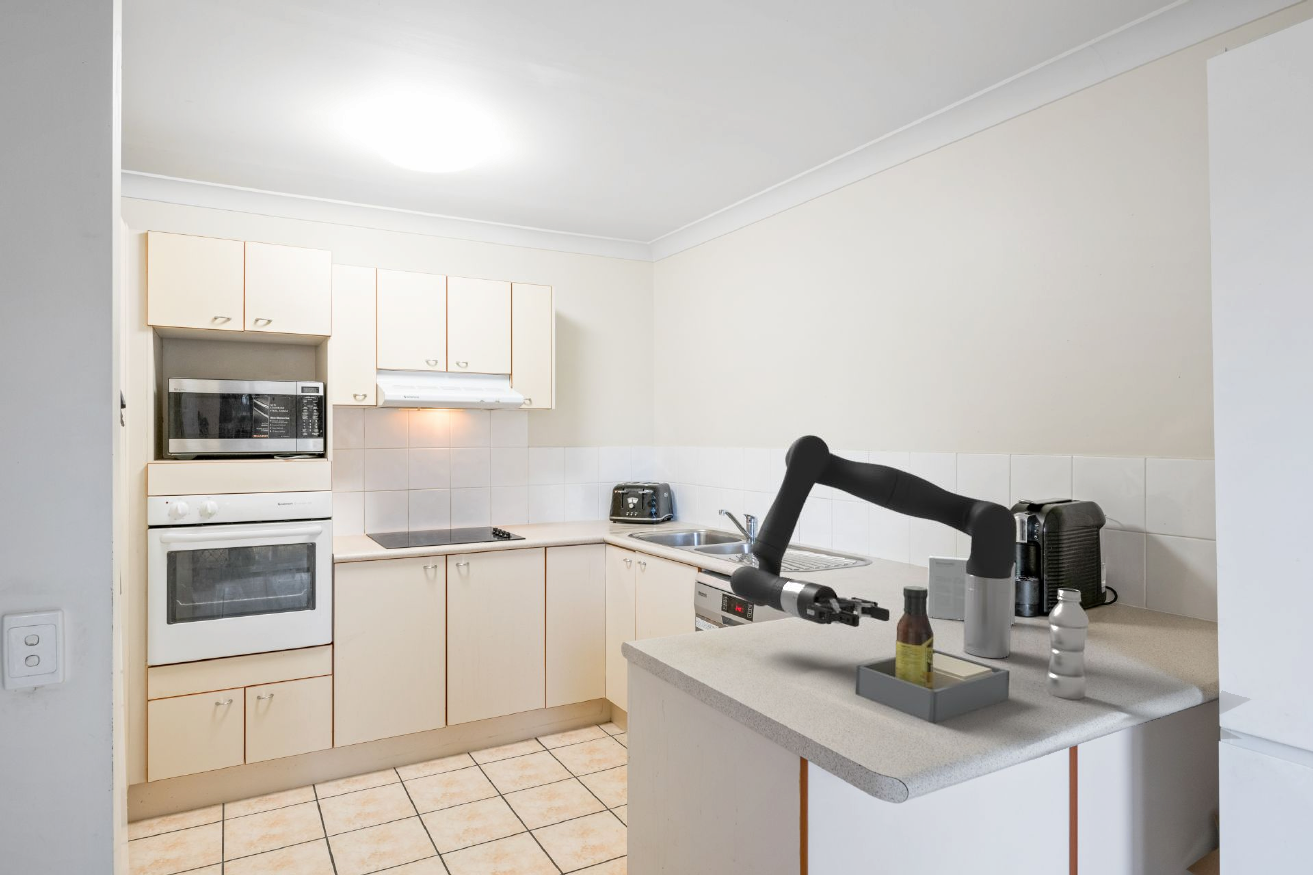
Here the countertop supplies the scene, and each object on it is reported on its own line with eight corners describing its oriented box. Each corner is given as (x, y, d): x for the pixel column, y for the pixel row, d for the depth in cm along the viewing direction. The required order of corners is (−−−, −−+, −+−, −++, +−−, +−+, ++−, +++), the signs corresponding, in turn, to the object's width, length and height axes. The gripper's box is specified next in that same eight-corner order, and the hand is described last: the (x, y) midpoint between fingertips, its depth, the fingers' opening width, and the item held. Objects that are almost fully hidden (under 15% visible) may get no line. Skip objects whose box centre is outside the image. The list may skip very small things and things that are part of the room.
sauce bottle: (934, 709, 130) (938, 593, 130) (896, 705, 132) (899, 590, 131) (928, 696, 137) (932, 585, 137) (892, 693, 138) (895, 583, 138)
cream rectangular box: (935, 678, 148) (935, 652, 147) (993, 696, 138) (994, 669, 138) (905, 686, 142) (906, 659, 142) (963, 706, 132) (964, 677, 132)
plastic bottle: (1037, 693, 143) (1041, 586, 143) (1071, 692, 144) (1075, 586, 144) (1058, 705, 137) (1062, 593, 137) (1094, 705, 138) (1098, 594, 137)
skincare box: (1012, 621, 199) (1014, 560, 199) (1015, 626, 194) (1017, 564, 194) (926, 613, 206) (928, 554, 206) (926, 617, 201) (928, 557, 201)
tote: (930, 679, 150) (931, 648, 150) (1008, 704, 137) (1009, 670, 137) (855, 699, 137) (856, 665, 137) (933, 729, 124) (934, 692, 124)
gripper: (783, 585, 151) (848, 602, 138) (833, 579, 159) (898, 594, 146) (782, 623, 151) (846, 643, 138) (832, 615, 159) (897, 633, 146)
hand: (873, 618), depth 142 cm, fingers open, 8 cm apart
